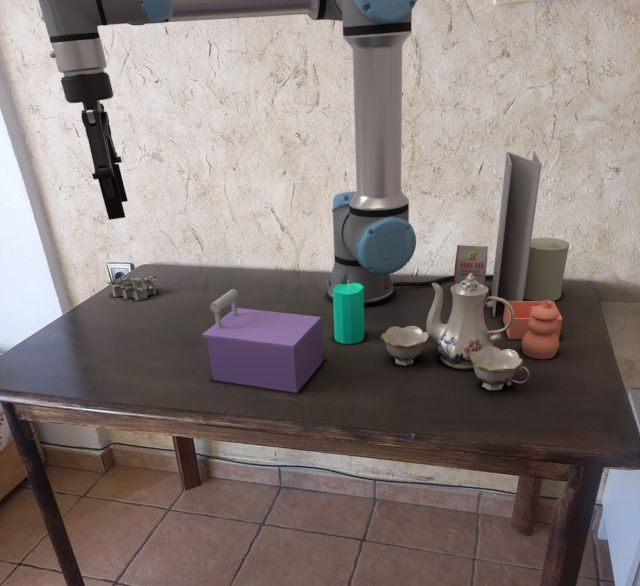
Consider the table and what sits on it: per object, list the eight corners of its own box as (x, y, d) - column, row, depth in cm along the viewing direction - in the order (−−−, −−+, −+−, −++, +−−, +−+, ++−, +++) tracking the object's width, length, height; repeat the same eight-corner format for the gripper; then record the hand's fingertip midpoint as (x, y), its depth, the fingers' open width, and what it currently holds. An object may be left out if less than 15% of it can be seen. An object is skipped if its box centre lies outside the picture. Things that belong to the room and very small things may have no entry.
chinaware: (367, 374, 114) (362, 291, 104) (406, 332, 125) (404, 254, 115) (518, 410, 101) (529, 320, 91) (547, 360, 112) (559, 274, 102)
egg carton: (161, 292, 152) (158, 276, 150) (140, 302, 146) (136, 286, 144) (129, 286, 156) (125, 270, 154) (107, 296, 151) (103, 280, 149)
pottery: (503, 320, 128) (508, 274, 123) (550, 320, 127) (558, 274, 121) (514, 359, 113) (521, 309, 108) (568, 360, 112) (578, 309, 106)
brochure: (520, 318, 129) (541, 164, 112) (493, 317, 130) (510, 164, 113) (516, 293, 140) (535, 151, 124) (491, 292, 141) (506, 151, 125)
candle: (368, 333, 125) (368, 276, 119) (357, 345, 121) (356, 287, 114) (341, 329, 128) (339, 273, 121) (329, 341, 123) (327, 283, 117)
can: (539, 305, 134) (548, 250, 127) (509, 292, 141) (516, 240, 134) (570, 296, 137) (579, 242, 131) (539, 284, 144) (546, 232, 138)
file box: (213, 380, 112) (206, 338, 107) (244, 350, 121) (239, 311, 117) (297, 393, 106) (293, 349, 102) (323, 361, 116) (321, 320, 111)
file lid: (202, 337, 107) (197, 308, 104) (236, 310, 117) (232, 283, 114) (293, 349, 102) (291, 318, 99) (321, 320, 111) (319, 291, 108)
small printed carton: (455, 284, 147) (458, 242, 141) (484, 286, 145) (488, 244, 139) (453, 290, 144) (456, 247, 138) (482, 292, 142) (487, 249, 136)
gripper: (68, 73, 108) (101, 198, 119) (48, 78, 87) (91, 229, 99) (111, 68, 109) (140, 193, 120) (103, 72, 88) (139, 222, 100)
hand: (118, 209), depth 110 cm, fingers open, 13 cm apart
